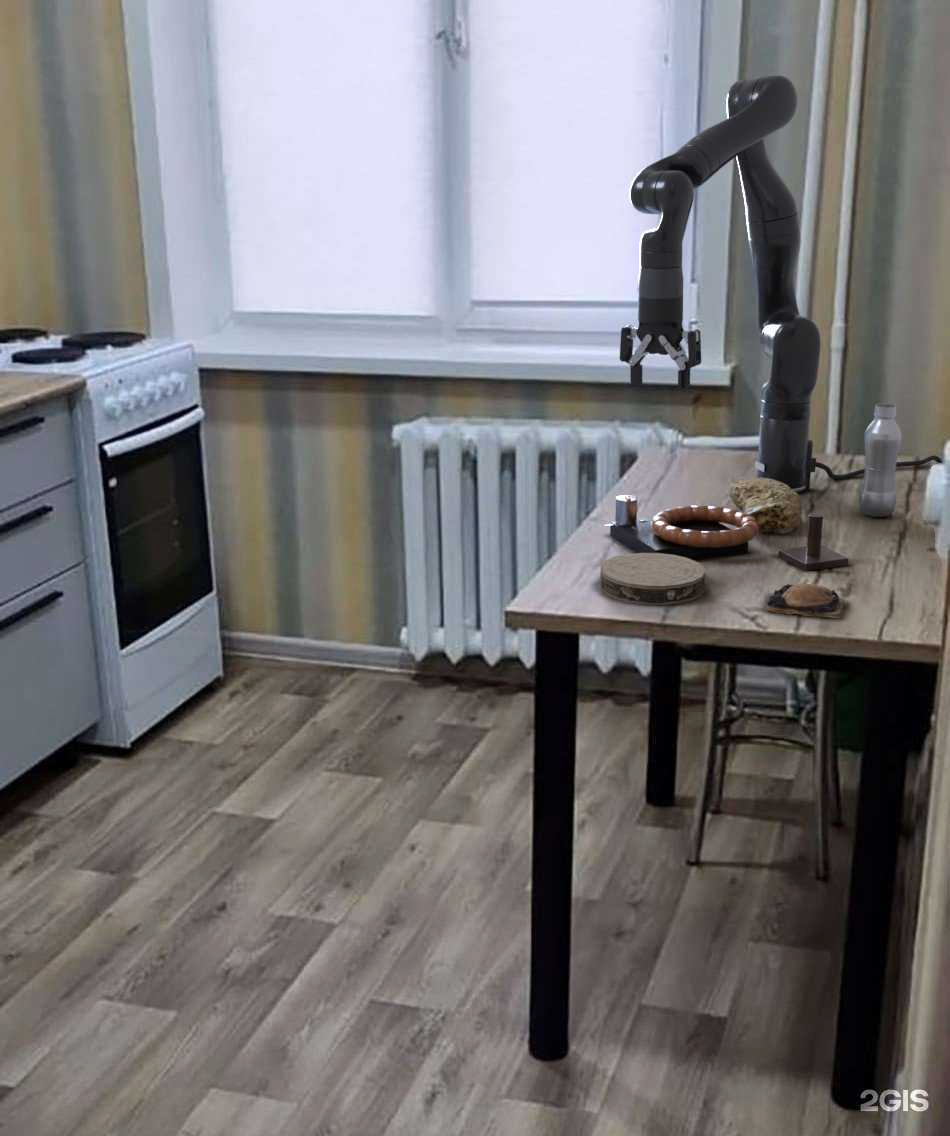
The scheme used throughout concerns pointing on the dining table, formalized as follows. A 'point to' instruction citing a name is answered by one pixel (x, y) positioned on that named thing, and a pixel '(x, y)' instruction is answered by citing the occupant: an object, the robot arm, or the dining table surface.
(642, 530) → the hob
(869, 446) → the plastic bottle
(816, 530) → the peg
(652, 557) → the tan disc
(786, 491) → the sponge
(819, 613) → the bread roll
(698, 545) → the brown segmented ring
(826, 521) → the dining table surface
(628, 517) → the hob knob
